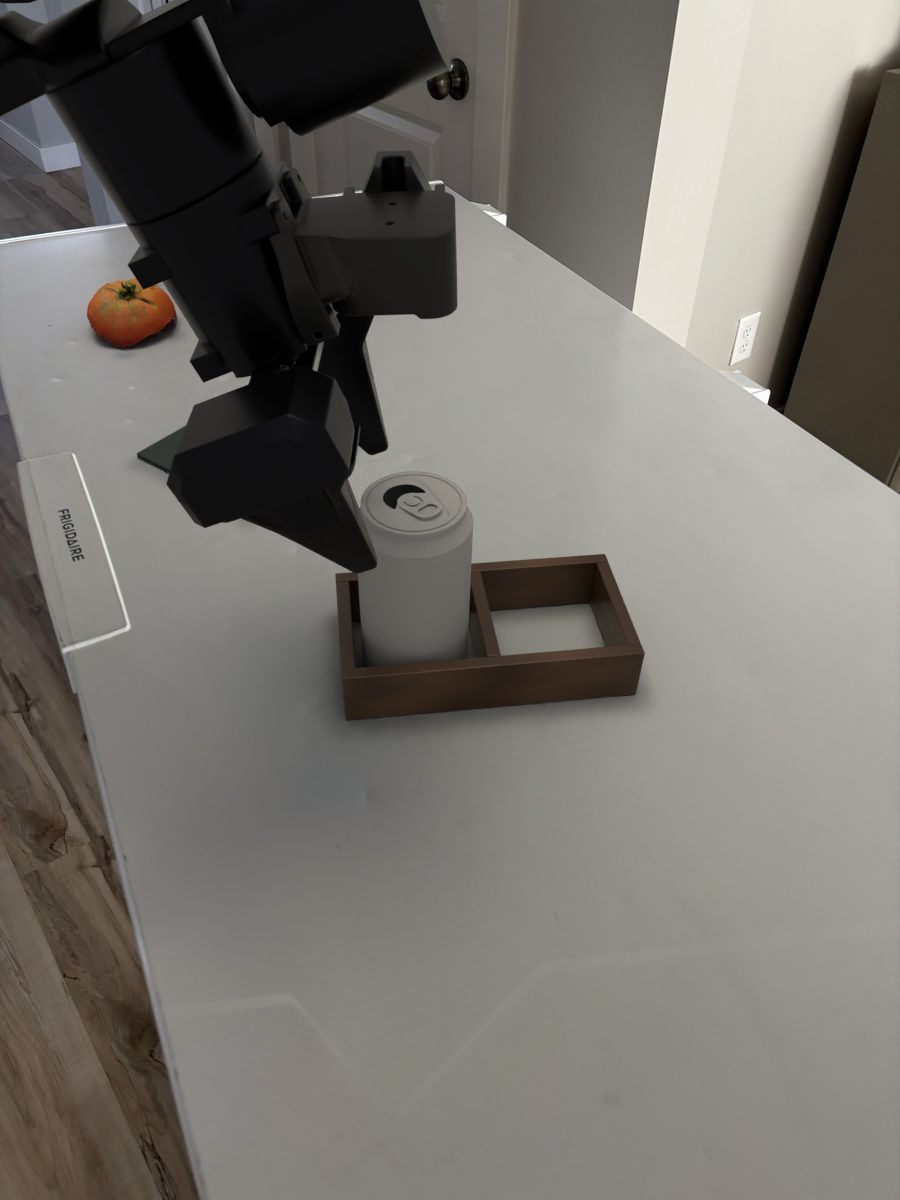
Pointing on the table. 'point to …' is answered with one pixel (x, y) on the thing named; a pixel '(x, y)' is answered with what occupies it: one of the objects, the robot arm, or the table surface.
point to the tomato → (129, 312)
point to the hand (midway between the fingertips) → (374, 505)
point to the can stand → (489, 672)
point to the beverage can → (416, 570)
